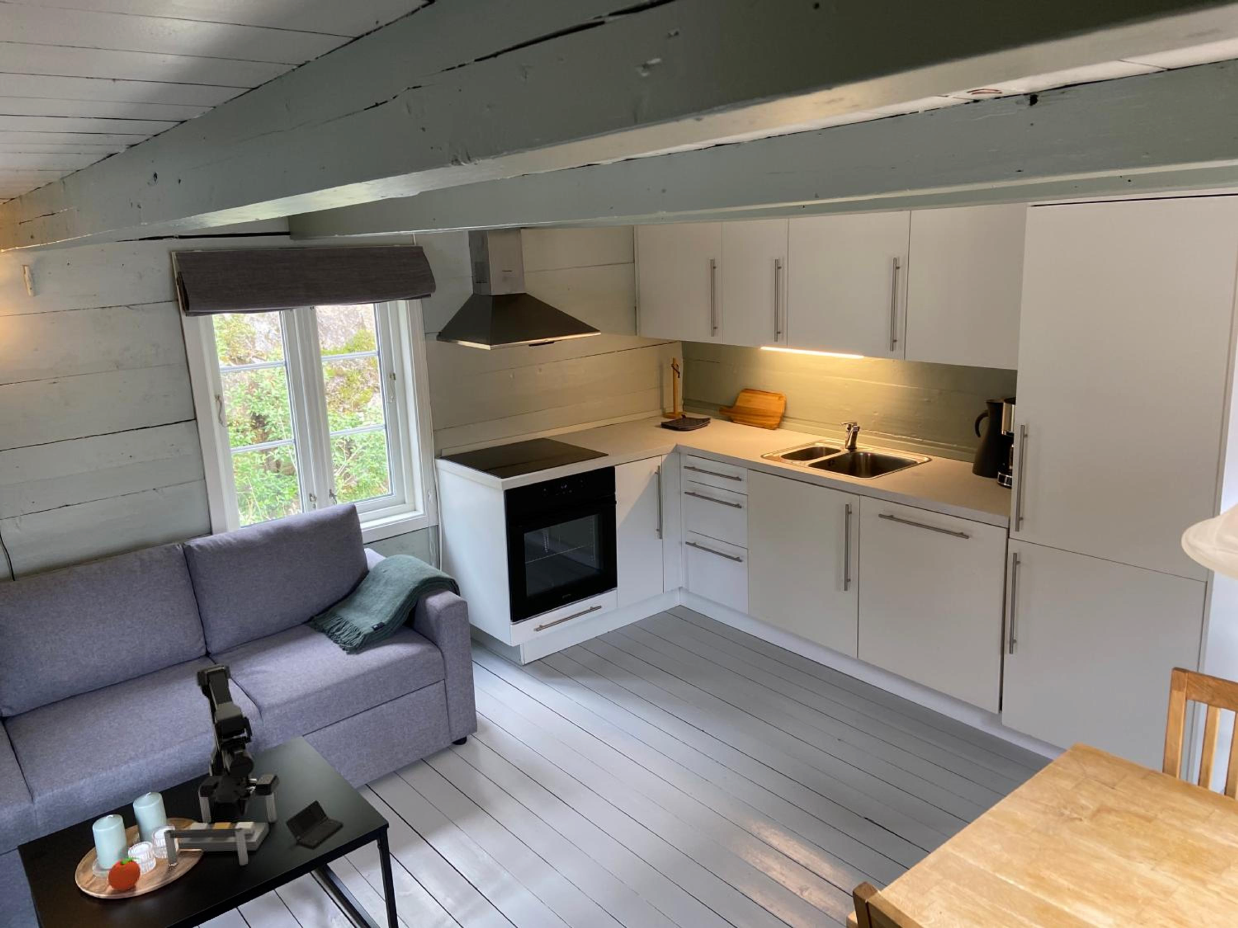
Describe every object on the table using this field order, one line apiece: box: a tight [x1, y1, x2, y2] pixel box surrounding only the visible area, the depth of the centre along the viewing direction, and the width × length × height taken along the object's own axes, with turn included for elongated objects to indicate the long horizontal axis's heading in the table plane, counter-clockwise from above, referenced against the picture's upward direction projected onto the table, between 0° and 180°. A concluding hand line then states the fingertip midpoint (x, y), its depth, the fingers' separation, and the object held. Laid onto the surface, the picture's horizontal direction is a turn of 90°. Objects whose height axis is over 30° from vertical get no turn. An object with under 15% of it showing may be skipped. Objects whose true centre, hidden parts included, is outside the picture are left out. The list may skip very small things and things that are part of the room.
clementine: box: [107, 856, 143, 891], centre depth 220 cm, size 8×7×7 cm
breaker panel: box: [177, 822, 270, 852], centre depth 237 cm, size 8×20×2 cm, turn 88°
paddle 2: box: [235, 821, 255, 834], centre depth 236 cm, size 2×4×2 cm, turn 89°
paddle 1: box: [189, 822, 210, 830], centre depth 236 cm, size 2×4×2 cm, turn 88°
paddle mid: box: [213, 822, 232, 829], centre depth 236 cm, size 2×4×2 cm, turn 89°
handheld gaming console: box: [285, 800, 344, 849], centre depth 239 cm, size 12×7×10 cm
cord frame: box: [163, 790, 277, 866], centre depth 236 cm, size 20×20×9 cm
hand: (243, 814), depth 235 cm, fingers closed
